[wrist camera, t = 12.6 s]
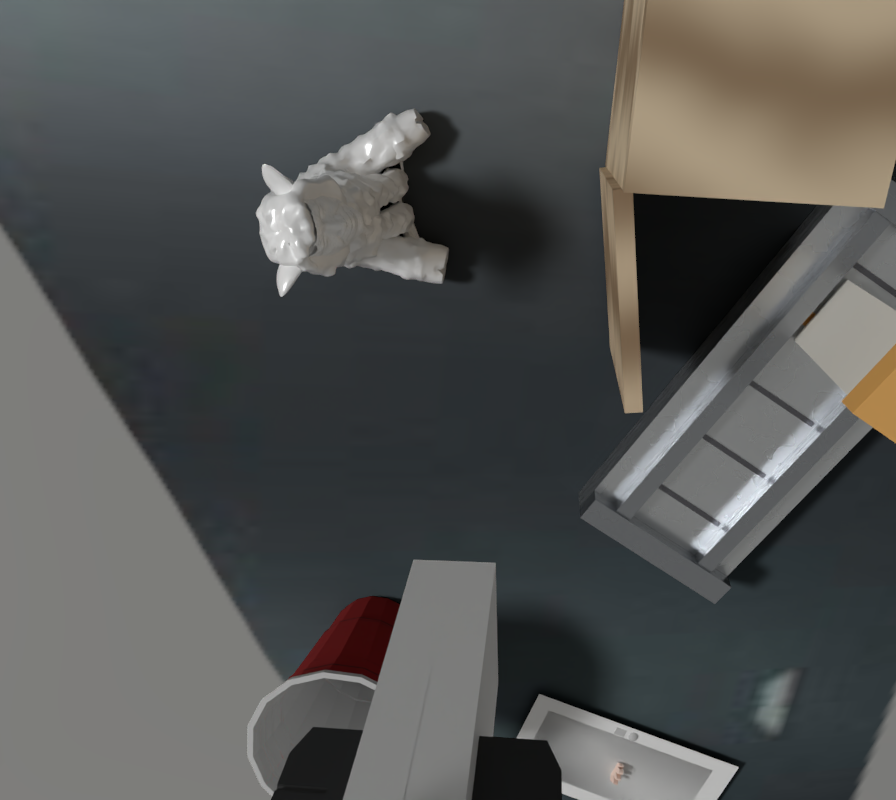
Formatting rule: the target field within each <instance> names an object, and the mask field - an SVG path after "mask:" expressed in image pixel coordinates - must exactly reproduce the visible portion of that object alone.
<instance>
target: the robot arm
mask: <svg viewBox="0 0 896 800" xmlns="http://www.w3.org/2000/svg"><path fill="white" fill-rule="evenodd" d="M497 691H498V647H497V602H496V563H487V562H460V561H434V560H413V563H412V566H411V570H410V573H409V577H408V580H407V583H406V587H405V590H404V594H403V597H402V600H401V604H400V607H399V611H398V614H397V617H396V621H395V624H394V628H393V631H392V634H391V638H390V641H389V645H388V648H387V651H386V655H385V658H384V662H383V665H382V668H381V672H380V675H379V679H378V682H377V685H376V689H375V692H374V695H373V699H372V702H371V706H370V709H369V712H368V716H367V719H366V723H365V726H364V729H363V730H353V729H338V728H323V727H313V728H312V729H311V730H310V731H309V732H308V733H307V734H306V735H305V736H304V737H303V739H302V740H301V741H300V742H299V743H298V744H297V745H296V746H295V747H294V748H293V749H292V751H291V752H290V753H289V755H288V758H287V760H286V763H285V765H284V768H283V771H282V773H281V776H280V778H279V781H278V783H277V790H275V791H274V793H273V796H272V799H271V800H562V770H561V768H560V766H559V764H558V762H557V760H556V758H555V756H554V754H553V751H552V749H551V747H550V745H549V743H548V741H547V740H533V739H518V738H503V737H493V731H494V721H495V711H496V701H497Z"/></svg>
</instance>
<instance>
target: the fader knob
mask: <svg viewBox="0 0 896 800" xmlns="http://www.w3.org/2000/svg"><path fill="white" fill-rule="evenodd" d="M794 341H795V342H796V343H797V344H798V345H799V346H800V347H801V348H802V349H803V350H804V351H805V352H806V353H807V354H808V355H809V356H810V357H811V358H812V359H813V360H814V361H815V362H816V363H817V364H818V366H819V367H820V368H821V369H822V370H823V371H824V372H825V373H826V374H827V375H828V376H829V377H830V378H831V379H832V380H833V381H834V382H835V383H836V384H837V385H838V386H839V387H840V388H841V389H842V390H843V391H844V392H845V393H846V394H847V396H846V397H845V398H844V399H843V400H842V401H841V402H842V403H843V404H844V405H845V406H846V407H847V408H848V409H849V410H850V411H851V412H852V413H853V414H854V415H856V416H857V417H858V418H860V419H861V420H863V421H864V422H866V423H867V424H869V425H870V426H872V427H873V428H874V429H876V430H877V431H879V432H880V433H882V434H883V435H885V436H886V437H888V438H889V439H890V440H892V441H893V442H895V443H896V310H894V309H893V308H891V307H889V306H888V305H886V304H885V303H883V302H882V301H880V300H879V299H877V298H875V297H874V296H872V295H871V294H869V293H868V292H866V291H865V290H863V289H861V288H860V287H858V286H857V285H855V284H854V283H852V282H851V281H849V280H847V279H846V281H845V282H844V283H843V284H842V285H841V286H840V287H839V289H838V290H837V291H836V292H835V293H834V294H833V295H832V296H831V298H830V299H829V300H828V301H827V302H826V303H825V304H824V306H823V307H822V308H821V309H820V310H819V311H818V312H817V313H816V315H815V316H814V317H813V318H812V319H811V320H810V321H809V323H808V324H807V325H806V326H805V327H804V328H803V329H802V330H801V332H800V333H799V334H798V335H797V336H796V337H795V338H794Z"/></svg>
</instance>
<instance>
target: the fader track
mask: <svg viewBox="0 0 896 800" xmlns="http://www.w3.org/2000/svg"><path fill="white" fill-rule="evenodd" d="M846 279H847V280H849V281H851V282H852V283H854V284H855V285H857V286H858V287H860V288H861V289H863V290H865V291H866V292H868V293H869V294H871V295H872V296H874V297H875V298H877V299H879V300H880V301H882V302H883V303H885V304H886V305H888V306H889V307H891V308H893V309H894V310H896V182H894V181H893V180H891V181H890V185H889V189H888V194H887V198H886V202H885V206H884V208H868V207H851V206H835V205H819V204H818V205H817V206H816V207H815V208H814V210H813V211H812V212H811V213H810V214H809V216H808V217H807V218H806V219H805V220H804V222H803V223H802V224H801V225H800V226H799V228H798V229H797V230H796V231H795V233H794V234H793V235H792V236H791V237H790V239H789V240H788V241H787V242H786V243H785V245H784V246H783V247H782V248H781V249H780V251H779V252H778V253H777V254H776V255H775V257H774V258H773V259H772V260H771V261H770V263H769V264H768V265H767V266H766V267H765V269H764V270H763V271H762V272H761V273H760V275H759V276H758V277H757V278H756V279H755V281H754V282H753V283H752V284H751V286H750V287H749V288H748V289H747V290H746V292H745V293H744V294H743V295H742V296H741V298H740V299H739V300H738V301H737V302H736V304H735V305H734V306H733V307H732V308H731V310H730V311H729V312H728V313H727V314H726V316H725V317H724V318H723V319H722V320H721V322H720V323H719V324H718V325H717V326H716V328H715V329H714V330H713V331H712V332H711V334H710V335H709V336H708V337H707V339H706V340H705V341H704V342H703V343H702V345H701V346H700V347H699V348H698V349H697V351H696V352H695V353H694V354H693V355H692V357H691V358H690V359H689V360H688V361H687V363H686V364H685V365H684V366H683V367H682V369H681V370H680V371H679V372H678V373H677V375H676V376H675V377H674V378H673V379H672V381H671V382H670V383H669V384H668V385H667V387H666V388H665V389H664V390H663V392H662V393H661V394H660V395H659V396H658V398H657V399H656V400H655V401H654V402H653V404H652V405H651V406H650V407H649V408H648V410H647V411H646V412H645V413H644V414H643V416H642V417H641V418H640V419H639V420H638V422H637V423H636V424H635V425H634V426H633V428H632V429H631V430H630V431H629V432H628V434H627V435H626V436H625V437H624V438H623V440H622V441H621V442H620V443H619V445H618V446H617V447H616V448H615V449H614V451H613V452H612V453H611V454H610V455H609V457H608V458H607V459H606V460H605V461H604V463H603V464H602V465H601V466H600V467H599V469H598V470H597V471H596V472H595V473H594V475H593V476H592V477H591V478H590V479H589V481H588V482H587V483H586V484H585V485H584V487H583V488H582V489H581V490H580V491H579V506H580V518H581V519H583V520H585V521H586V522H588V523H589V524H591V525H592V526H594V527H596V528H597V529H599V530H600V531H602V532H603V533H605V534H606V535H608V536H610V537H611V538H613V539H614V540H616V541H617V542H619V543H621V544H622V545H624V546H625V547H627V548H628V549H630V550H631V551H633V552H635V553H636V554H638V555H639V556H641V557H642V558H644V559H646V560H647V561H649V562H650V563H652V564H653V565H655V566H656V567H658V568H660V569H661V570H663V571H664V572H666V573H667V574H669V575H671V576H672V577H674V578H675V579H677V580H678V581H680V582H681V583H683V584H685V585H686V586H688V587H689V588H691V589H692V590H694V591H695V592H697V593H699V594H700V595H702V596H703V597H705V598H706V599H708V600H710V601H711V602H713V603H714V604H715V603H716V602H717V601H718V600H719V599H720V598H721V597H722V596H723V595H724V594H725V593H726V592H727V591H728V590H729V589H730V588H731V585H730V582H729V579H728V577H727V576H728V575H729V574H730V573H731V572H732V571H733V570H734V569H735V568H736V567H737V566H738V565H739V564H740V563H741V561H742V560H743V559H744V558H745V557H746V556H747V555H748V554H749V553H750V552H751V551H752V550H753V549H754V548H755V547H756V546H757V545H758V544H759V543H760V542H761V541H762V540H763V539H764V538H765V537H766V536H767V535H768V534H769V533H770V532H771V531H772V530H773V529H774V528H775V527H776V526H777V525H778V524H779V523H780V522H781V521H782V520H783V519H784V518H785V517H786V515H787V514H788V513H789V512H790V511H791V510H792V509H793V508H794V507H795V506H796V505H797V504H798V503H799V502H800V501H801V500H802V499H803V498H804V497H805V496H806V495H807V494H808V493H809V492H810V491H811V490H812V489H813V488H814V487H815V486H816V485H817V484H818V483H819V482H820V481H821V480H822V479H823V478H824V477H825V476H826V475H827V474H828V473H829V472H830V471H831V469H832V468H833V467H834V466H835V465H836V464H837V463H838V462H839V461H840V460H841V459H842V458H843V457H844V456H845V455H846V454H847V453H848V452H849V451H850V450H851V449H852V448H853V447H854V446H855V445H856V444H857V443H858V442H859V441H860V440H861V439H862V438H863V437H864V436H865V435H866V434H867V433H868V432H869V431H870V430H871V429H872V428H873V427H872V426H870V425H869V424H867V423H866V422H864V421H863V420H861V419H860V418H858V417H857V416H856V415H854V414H853V413H852V412H851V411H850V410H849V409H848V408H847V407H846V406H845V405H844V404H843V403H842V402H841V401H842V400H843V399H844V398H845V397H846V396H847V394H846V393H845V392H844V391H843V390H842V389H841V388H840V387H839V386H838V385H837V384H836V383H835V382H834V381H833V380H832V379H831V378H830V377H829V376H828V375H827V374H826V373H825V372H824V371H823V370H822V369H821V368H820V367H819V366H818V364H817V363H816V362H815V361H814V360H813V359H812V358H811V357H810V356H809V355H808V354H807V353H806V352H805V351H804V350H803V349H802V348H801V347H800V346H799V345H798V344H797V343H796V342H795V341H794V338H795V337H796V336H797V335H798V334H799V333H800V332H801V330H802V329H803V328H804V327H805V326H806V325H807V324H808V323H809V321H810V320H811V319H812V318H813V317H814V316H815V315H816V313H817V312H818V311H819V310H820V309H821V308H822V307H823V306H824V304H825V303H826V302H827V301H828V300H829V299H830V298H831V296H832V295H833V294H834V293H835V292H836V291H837V290H838V289H839V287H840V286H841V285H842V284H843V283H844V282H845V281H846Z"/></svg>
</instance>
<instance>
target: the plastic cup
mask: <svg viewBox="0 0 896 800" xmlns="http://www.w3.org/2000/svg"><path fill="white" fill-rule="evenodd" d="M399 607H400V604H398V603H396V602H394V601H392V600H390V599H388V598H382V597H375V596H370V597H365V598H361V599H357V600H355V601H354V602H353V603H351V604H350V605H348V606H347V607H346V608H345V609H344V610H342V611H341V612H340V614H339V615H338V617H337V618H336V619H335V621H334V622H333V624H332V625H331V627H330V628H329V629H328V630H326V631H325V632H324V634H323V635H322V637H321V638H320V639H319V641H318V642H317V643H316V645H315V646H314V647H313V649H312V650H311V651H310V653H309V654H308V655H307V657H306V658H305V660H304V661H303V662H302V664H301V665H300V666H299V668H298V669H297V670H296V672H295V673H294V674H293V675H292V676H290V677H289V679H288V680H287V681H285V682H284V683H283V684H281V685H280V686H278V687H277V688H276V689H274V690H273V691H271V692H270V693H269V694H267V695H266V696H265V697H264V698H262V699H261V702H260V703H259V705H258V707H257V709H256V711H255V713H254V715H253V716H252V719H251V720H250V722H249V724H248V727H247V729H248V730H247V733H248V734H247V757H248V759H249V761H250V763H251V766H252V768H253V770H254V772H255V774H256V777H257V779H258V781H259V783H260V785H261V786H262V787H263V788H264V789H265V790H266V791H267V792H268V793H269V794H270V795H271V796H273V793H274V791H275V790H277V783H278V781H279V778H280V776H281V773H282V771H283V768H284V765H285V763H286V760H287V758H288V755H289V753H290V752H291V751H292V749H293V748H294V747H295V746H296V745H297V744H298V743H299V742H300V741H301V740H302V739H303V737H304V736H305V735H306V734H307V733H308V732H309V731H310V730H311V729H312V728H313V727H323V728H338V729H353V730H363V729H364V726H365V723H366V719H367V716H368V712H369V709H370V706H371V702H372V699H373V695H374V692H375V689H376V685H377V682H378V679H379V675H380V672H381V668H382V665H383V662H384V658H385V655H386V651H387V648H388V645H389V641H390V638H391V634H392V631H393V628H394V624H395V621H396V617H397V614H398V611H399Z"/></svg>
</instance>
